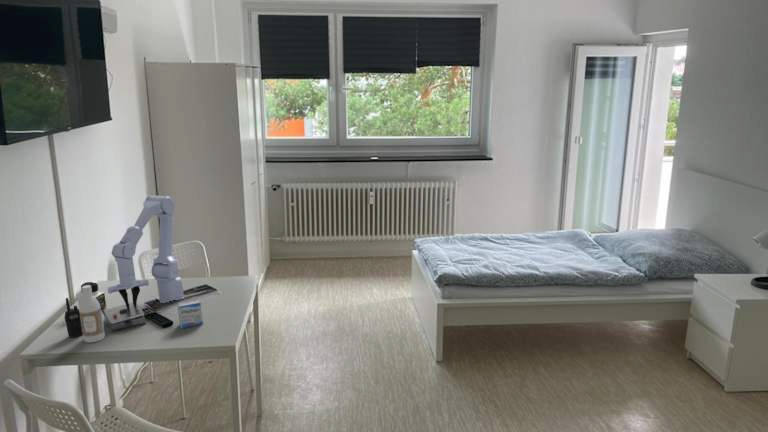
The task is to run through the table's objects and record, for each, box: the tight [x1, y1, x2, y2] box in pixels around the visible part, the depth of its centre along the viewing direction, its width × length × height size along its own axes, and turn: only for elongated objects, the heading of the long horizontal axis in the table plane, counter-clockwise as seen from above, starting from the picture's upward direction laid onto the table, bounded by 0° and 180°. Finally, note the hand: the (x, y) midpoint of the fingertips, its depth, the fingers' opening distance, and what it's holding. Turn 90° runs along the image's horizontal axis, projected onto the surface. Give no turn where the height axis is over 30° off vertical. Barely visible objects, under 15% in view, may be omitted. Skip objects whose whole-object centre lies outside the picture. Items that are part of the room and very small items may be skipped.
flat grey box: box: [103, 314, 147, 333], centre depth 226 cm, size 12×19×3 cm, turn 34°
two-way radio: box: [64, 297, 83, 339], centre depth 214 cm, size 6×4×15 cm
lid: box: [101, 302, 145, 325], centre depth 225 cm, size 12×14×2 cm
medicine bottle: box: [77, 281, 107, 312], centre depth 237 cm, size 7×7×12 cm
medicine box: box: [176, 299, 204, 329], centre depth 222 cm, size 8×4×9 cm, turn 117°
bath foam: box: [78, 285, 106, 344], centre depth 210 cm, size 7×7×20 cm
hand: (131, 306), depth 230 cm, fingers closed
